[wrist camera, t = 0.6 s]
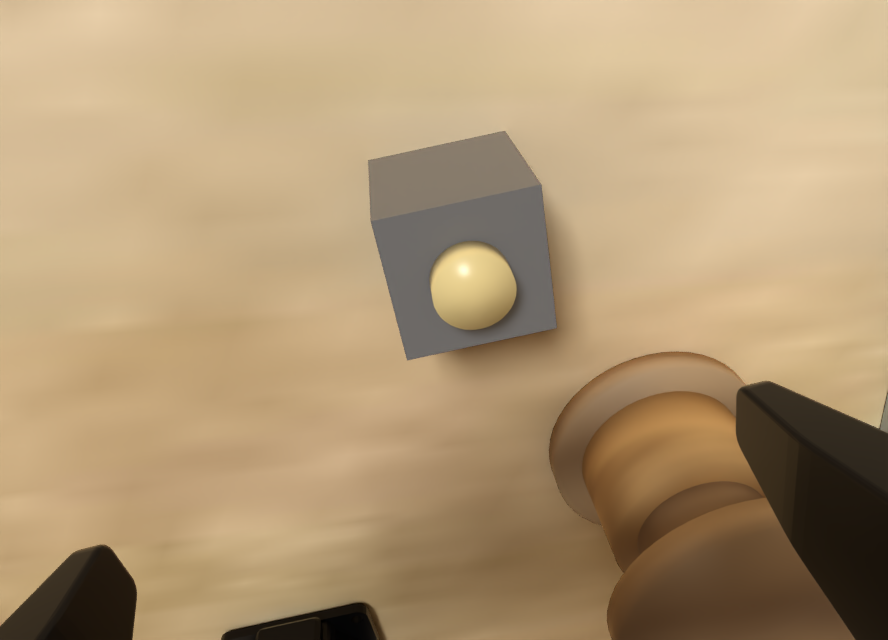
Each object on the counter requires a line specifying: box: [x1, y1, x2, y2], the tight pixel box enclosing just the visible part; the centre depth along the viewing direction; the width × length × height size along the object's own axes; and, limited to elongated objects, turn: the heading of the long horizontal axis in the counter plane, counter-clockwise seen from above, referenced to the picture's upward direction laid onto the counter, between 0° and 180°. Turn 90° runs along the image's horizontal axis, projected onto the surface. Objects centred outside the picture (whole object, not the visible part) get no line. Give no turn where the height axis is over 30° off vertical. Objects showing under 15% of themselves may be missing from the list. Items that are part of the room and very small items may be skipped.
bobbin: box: [549, 352, 855, 640], centre depth 22 cm, size 8×8×8 cm
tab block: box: [368, 131, 557, 360], centre depth 18 cm, size 4×4×5 cm
